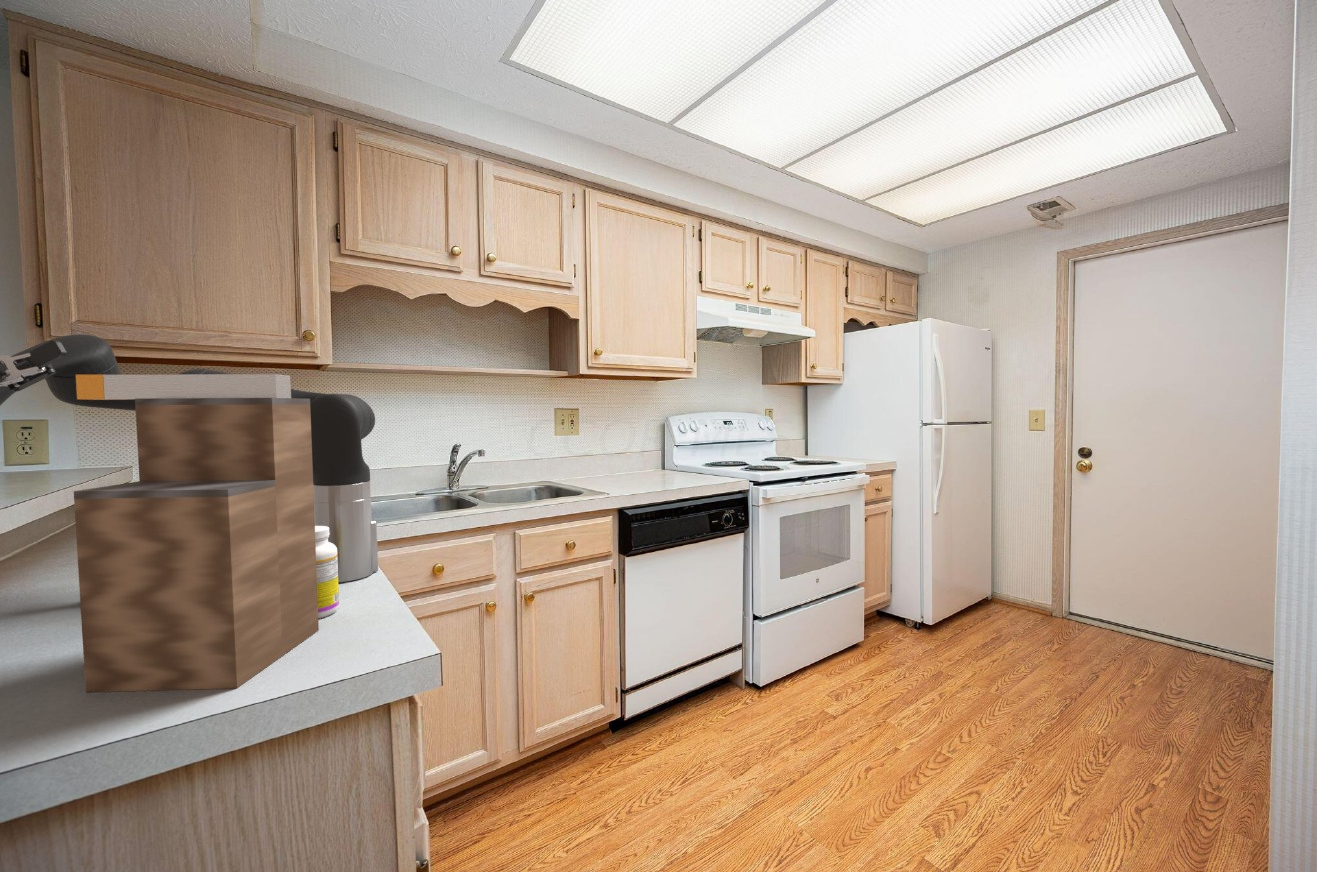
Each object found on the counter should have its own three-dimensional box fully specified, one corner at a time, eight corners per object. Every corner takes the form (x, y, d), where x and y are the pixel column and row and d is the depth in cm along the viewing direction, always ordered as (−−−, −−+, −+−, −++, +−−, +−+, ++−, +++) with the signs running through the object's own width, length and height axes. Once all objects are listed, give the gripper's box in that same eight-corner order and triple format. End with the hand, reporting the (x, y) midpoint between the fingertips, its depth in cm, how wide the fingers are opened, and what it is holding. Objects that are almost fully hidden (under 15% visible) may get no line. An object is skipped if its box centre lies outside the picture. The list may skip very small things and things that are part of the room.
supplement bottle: (277, 617, 83) (274, 531, 82) (322, 603, 89) (319, 522, 88) (304, 625, 80) (301, 535, 79) (349, 610, 86) (346, 526, 85)
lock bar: (77, 399, 70) (75, 374, 69) (100, 399, 73) (99, 376, 73) (276, 398, 71) (275, 374, 70) (291, 398, 74) (290, 375, 74)
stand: (85, 692, 61) (67, 397, 60) (199, 633, 77) (187, 399, 76) (237, 688, 62) (223, 396, 60) (318, 630, 78) (309, 398, 76)
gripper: (-192, 374, 62) (-63, 306, 62) (-37, 379, 77) (68, 324, 77) (-154, 434, 63) (-26, 367, 63) (-8, 428, 77) (97, 373, 77)
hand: (25, 343), depth 70 cm, fingers open, 8 cm apart
